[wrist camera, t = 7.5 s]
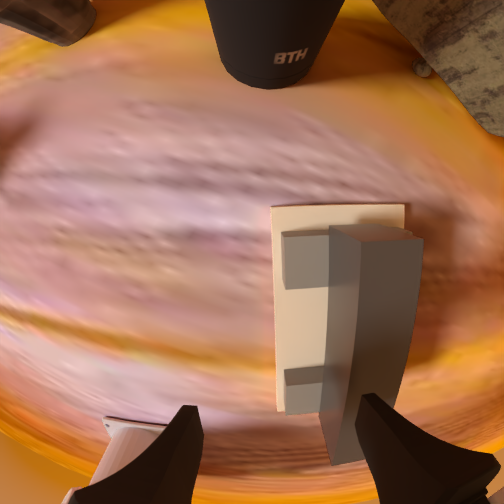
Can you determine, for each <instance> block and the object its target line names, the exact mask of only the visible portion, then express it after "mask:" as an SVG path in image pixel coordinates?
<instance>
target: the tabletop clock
mask: <svg viewBox="0 0 504 504" xmlns="http://www.w3.org/2000/svg"><path fill="white" fill-rule="evenodd" d="M372 1H373V2H374V3H375V5H376V6H377V7H378V9H379V10H380V11H381V13H382V14H383V15H384V16H385V17H386V18H387V20H388V21H389V22H390V23H391V24H392V25H393V26H394V27H395V28H396V29H397V30H398V31H399V32H400V33H401V34H402V35H403V36H404V37H405V38H406V39H407V40H408V41H409V42H410V43H411V44H412V45H413V46H414V47H415V49H416V50H417V51H418V52H419V53H420V54H421V55H422V56H423V58H417V59H415V60H414V61H413V62H412V67H413V71H414V72H415V73H416V74H417V75H418V76H420V77H427V76H429V75H430V74H431V72H432V68H433V69H434V70H435V71H436V72H437V74H438V75H439V76H440V77H441V78H442V79H443V80H444V82H445V83H446V84H447V85H448V86H449V87H450V89H451V90H452V91H453V92H454V94H455V95H456V96H457V97H458V99H459V100H460V101H461V102H462V104H463V105H464V106H465V108H466V109H467V110H468V111H469V113H470V114H471V115H472V116H473V117H474V119H475V120H476V121H477V122H478V123H479V124H480V125H481V126H482V127H483V128H484V129H485V130H486V131H487V132H488V133H491V134H494V135H497V136H501V137H504V0H372Z"/></svg>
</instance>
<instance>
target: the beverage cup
mask: <svg viewBox="0 0 504 504" xmlns="http://www.w3.org/2000/svg"><path fill="white" fill-rule="evenodd" d="M95 18H96V10H95V9H94V8H93V6H92V5H91V3H90V1H89V0H0V23H2V24H5V25H7V26H10V27H13V28H16V29H18V30H21V31H24V32H26V33H29V34H31V35H34V36H36V37H38V38H41V39H43V40H46V41H48V42H51V43H55V44H57V45H59V46H62V47H63V46H68V45H71V44H73V43H75V42H76V41H78V40H79V39H81V38H82V37H83V36H84V35H85V34H86V33H87V32H88V30H89V29H90V28H91V27H92V25H93V23H94V21H95Z"/></svg>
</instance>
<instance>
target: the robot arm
mask: <svg viewBox="0 0 504 504" xmlns="http://www.w3.org/2000/svg"><path fill="white" fill-rule="evenodd" d="M102 422H103V424H104V426H105V428H106V430H107V432H108V434H109V435H110V437H111V441H110V443H109V445H108V447H107V449H106V451H105V453H104V455H103V457H102V459H101V461H100V463H99V465H98V467H97V469H96V471H95V473H94V475H93V477H92V479H91V482H90V484H89V486H87V487H84V488H81V487H77V488H71V489H70V491H69V492H68V493H67V495H66V496H65V498H64V500H63V501H62V503H61V504H191V500H192V494H193V489H194V485H195V481H196V477H197V473H198V469H199V465H200V460H201V456H202V450H203V439H204V433H203V429H202V425H201V421H200V417H199V412H198V408H197V406H191V405H183V406H182V407H181V408H180V410H179V411H178V412H177V414H176V415H175V416H174V418H173V419H172V420H171V422H170V423H169V424H168V425H167V426H160V425H151V424H144V423H137V422H130V421H124V420H119V419H113V418H108V417H103V418H102ZM355 429H356V433H357V437H358V441H359V444H360V446H361V449H362V451H363V454H364V456H365V459H366V461H367V463H368V466H369V468H370V471H371V473H372V476H373V478H374V481H375V484H376V488H377V492H378V496H379V501H380V504H504V487H503V488H501V489H500V490H499V491H497V492H496V493H494V494H493V495H492V496H490V497H489V498H488V499H487V497H486V496H485V495H486V494H487V493H488V491H487V489H486V486H487V485H488V484H489V483H490V482H491V481H492V480H493V479H494V477H495V476H496V475H497V474H498V472H499V470H500V468H501V465H500V464H499V462H498V461H497V460H496V458H495V457H494V456H493V454H490V453H483V452H477V451H472V450H468V449H464V448H461V447H458V446H455V445H452V444H450V443H447V442H445V441H442V440H440V439H438V438H436V437H434V436H432V435H430V434H428V433H427V432H425V431H423V430H421V429H420V428H418V427H417V426H415V425H414V424H412V423H411V422H410V421H408V420H407V419H405V418H404V417H403V416H402V415H400V414H399V413H398V412H397V411H395V410H394V409H393V408H392V407H390V406H389V405H388V404H387V403H386V402H385V401H383V400H382V399H381V398H380V397H379V396H378V395H376V394H375V393H368V394H363V395H361V400H360V404H359V409H358V413H357V417H356V421H355Z"/></svg>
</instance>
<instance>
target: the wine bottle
mask: <svg viewBox="0 0 504 504" xmlns="http://www.w3.org/2000/svg"><path fill="white" fill-rule="evenodd" d="M344 1H345V0H205V3H206V7H207V11H208V14H209V18H210V21H211V25H212V29H213V32H214V36H215V40H216V43H217V47H218V51H219V54H220V58H221V61H222V63H223V65H224V67H225V68H226V70H227V72H228V73H230V74H231V75H232V76H233V77H234V78H235V79H236V80H238V81H240V82H242V83H244V84H246V85H248V86H251V87H256V88H261V89H277V88H284V87H286V86H289V85H292V84H295V83H296V82H298V81H299V80H300V79H301V78H303V77H304V76H305V75H306V74H307V73H308V71H309V69H310V68H311V66H312V65H313V63H314V61H315V59H316V57H317V55H318V53H319V51H320V48H321V46H322V44H323V42H324V40H325V38H326V36H327V35H328V33H329V31H330V29H331V27H332V25H333V23H334V21H335V19H336V17H337V15H338V13H339V11H340V9H341V7H342V5H343V3H344Z"/></svg>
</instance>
